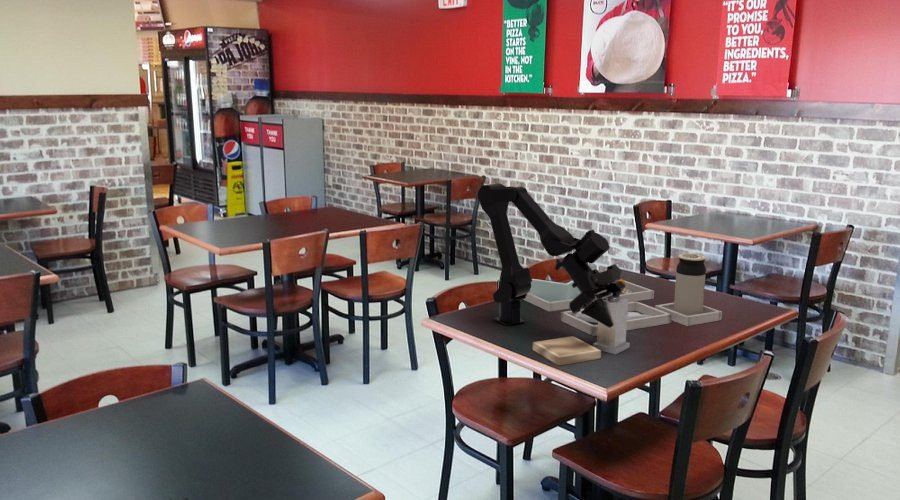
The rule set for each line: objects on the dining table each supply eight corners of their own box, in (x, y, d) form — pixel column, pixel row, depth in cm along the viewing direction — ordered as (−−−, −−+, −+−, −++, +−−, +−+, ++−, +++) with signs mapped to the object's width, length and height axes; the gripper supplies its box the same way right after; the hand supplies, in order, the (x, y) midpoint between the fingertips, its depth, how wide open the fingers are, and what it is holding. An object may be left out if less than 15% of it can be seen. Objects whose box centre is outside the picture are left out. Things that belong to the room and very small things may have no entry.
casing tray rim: (560, 320, 208) (560, 312, 207) (635, 309, 219) (636, 301, 219) (592, 336, 195) (593, 327, 194) (671, 323, 206) (671, 314, 206)
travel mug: (671, 319, 210) (676, 257, 206) (674, 311, 217) (678, 252, 214) (701, 322, 207) (706, 260, 203) (702, 314, 214) (707, 254, 211)
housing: (592, 348, 185) (595, 297, 183) (606, 341, 190) (609, 292, 188) (615, 354, 181) (618, 302, 178) (629, 347, 186) (632, 297, 183)
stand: (532, 349, 184) (532, 341, 183) (573, 343, 189) (573, 335, 188) (558, 365, 173) (558, 357, 173) (600, 358, 178) (601, 350, 178)
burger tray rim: (577, 291, 239) (577, 284, 238) (618, 286, 246) (619, 278, 246) (610, 304, 224) (610, 296, 223) (653, 298, 231) (654, 290, 231)
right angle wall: (582, 300, 230) (583, 276, 228) (566, 309, 220) (567, 284, 218) (547, 294, 236) (547, 272, 234) (530, 303, 226) (531, 279, 224)
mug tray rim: (654, 313, 215) (655, 305, 215) (688, 308, 221) (688, 300, 220) (686, 326, 204) (687, 317, 203) (721, 320, 209) (722, 311, 209)
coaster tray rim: (518, 297, 232) (518, 289, 231) (563, 291, 239) (563, 284, 238) (548, 311, 217) (549, 303, 216) (595, 304, 224) (595, 296, 223)
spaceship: (578, 326, 203) (579, 311, 203) (572, 320, 210) (572, 304, 209) (659, 323, 206) (660, 308, 206) (649, 317, 213) (650, 302, 212)
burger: (610, 289, 243) (611, 267, 242) (641, 296, 235) (642, 273, 233) (588, 295, 235) (589, 272, 234) (619, 303, 227) (620, 279, 225)
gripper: (581, 261, 177) (620, 314, 172) (620, 249, 190) (657, 298, 185) (553, 287, 183) (589, 339, 179) (592, 274, 197) (627, 322, 192)
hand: (617, 324), depth 183 cm, fingers closed on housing, 5 cm apart
